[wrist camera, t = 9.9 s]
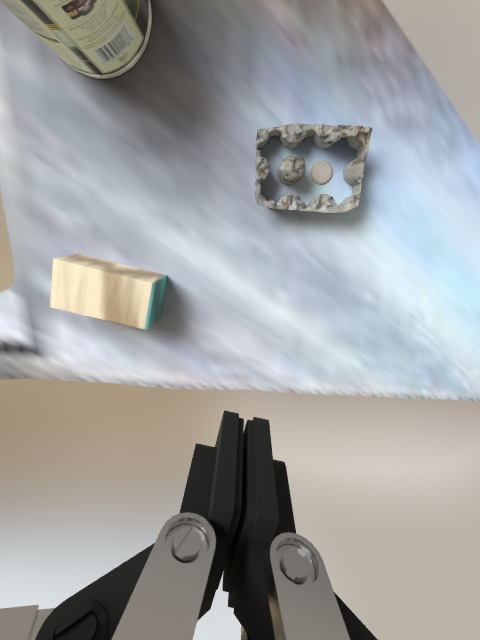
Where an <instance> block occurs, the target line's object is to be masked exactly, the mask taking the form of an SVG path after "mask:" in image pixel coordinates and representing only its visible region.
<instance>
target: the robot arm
mask: <svg viewBox="0 0 480 640" xmlns="http://www.w3.org/2000/svg"><path fill="white" fill-rule="evenodd" d="M243 426H244V420H243V419H242V418H239V414H238V413H233V412H228V411H224V414H223V417H222V421H221V425H220V429H219V433H218V437H217V441H216V445H215V447H211V446H206V445H201V444H197V443H196V446H195V450H194V455H193V459H192V463H191V467H190V471H189V476H188V480H187V484H186V488H185V492H184V497H183V501H182V505H181V509H180V513H179V514H177V515H175V516H173V517H172V518H170V519H169V520H168V521H167V522H166V523H165V525H164V526H163V528H162V529H161V531H160V533H159V535H158V538H157V540H156V542H155V543H154V544H152V545H151V546H149V547H148V548H146V549H145V550H143V551H142V552H140V553H138V554H137V555H136V556H134V557H132V558H131V559H129V560H128V561H126V562H124V563H123V564H121V565H120V566H118V567H116V568H115V569H113V570H112V571H110V572H109V573H107V574H105V575H104V576H102V577H101V578H99V579H98V580H96V581H95V582H93V583H91V584H90V585H88V586H87V587H85V588H84V589H82V590H80V591H79V592H77V593H76V594H74V595H73V596H71V597H69V598H68V599H67V600H65V601H64V602H62V603H61V604H60V605H59V606H58V607H56V608H52V609H42V610H38V605H33V606H23V607H13V608H4V609H0V640H192V639H193V635H194V631H195V627H196V623H197V621H198V620H199V619H200V618H201V617H202V616H203V615H204V614H205V613H206V612H207V611H209V610H210V608H211V605H212V602H213V598H214V595H215V592H216V590H217V589H218V586H219V583H220V580H221V577H222V574H223V591H226V592H229V596H228V607H232V608H234V614H235V616H236V617H237V619H238V620H239V622H240V624H241V625H242V627H241V640H377V639H376V637H374V635H373V634H372V633H371V632H370V631H369V630H368V629H367V628H366V626H365V625H363V623H362V622H361V621H360V620H359V619H358V618H357V617H356V616H355V614H354V613H353V612H352V611H351V610H350V609H349V608H348V607H347V606H346V605H345V603H344V602H343V601H342V600H341V599H340V598H339V597H338V596H337V595H336V594H335V593H334V592H333V589H332V586H331V583H330V580H329V577H328V574H327V571H326V569H325V565H324V563H323V560H322V558H321V556H320V554H319V552H318V551H317V549H316V548H315V547H314V545H313V544H312V543H311V542H309V541H308V540H307V539H306V538H304V537H302V536H300V535H298V534H296V530H295V523H294V517H293V511H292V504H291V497H290V490H289V484H288V477H287V471H286V466H285V463H284V462H282V461H277V460H273V456H272V446H271V437H270V426H269V421H268V420H266V419H261V418H256V417H254V418H253V420H252V421H251V420H247V423H246V427H245V430H244V433H243ZM223 570H224V573H223Z"/></svg>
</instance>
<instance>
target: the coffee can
mask: <svg viewBox="0 0 480 640" xmlns="http://www.w3.org/2000/svg"><path fill="white" fill-rule="evenodd" d="M0 3H2V4H3V5H4V6H5V7H6V8H7V9H8V10H9V11H11V12H12V13H13V14H14V15H15V16H16V17H17V18H18V19H19V20H20V21H22V22H23V23H24V24H25V25H26V26H27V27H28V28H29V29H31V30H32V31H33V32H34V33H35V34H36V35H37V36H38V37H39V38H41V39H42V40H43V41H44V42H45V43H46V44H47V45H48V46H49V47H51V48H52V49H53V50H54V51H55V52H56V53H57V54H58V55H59V56H60V57H61V58H62V59H63V60H64V61H65V62H66V63H67V64H68V65H69V66H71V67H72V68H73V69H75V70H76V71H78V72H80V73H82V74H84V75H86V76H90V77H93V78H100V79H106V78H113V77H117V76H119V75H121V74H123V73H125V72H126V71H128V70H129V69H130V68H132V67H133V66H134V65H135V64H136V63H137V61H138V60H139V59H140V57H141V56H142V54H143V52H144V50H145V48H146V46H147V43H148V40H149V36H150V32H151V24H152V11H151V2H150V0H0Z"/></svg>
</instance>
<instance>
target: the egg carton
mask: <svg viewBox="0 0 480 640" xmlns="http://www.w3.org/2000/svg"><path fill="white" fill-rule="evenodd" d="M371 131H372V128H370V127H363V126H351V125H337V126H329V125H320V124H319V125H310V124H291V125H284V126H280V127H274V128H269V129H259V130H257V139H256V150H257V149H258V148H261V147H263V146H264V145H265V144H266V143H267V141H268V139H269V137H270V136H279V138H280V142H281V143H282V145H283V146H284V147H286V148H294V147H296V146H298V145H299V144H300V142H301V141H302V140H303V138H306V137H311V136H313V141H314V143H315V144H316V146H318V147H319V148H322V149H325V148H328V147H330V146H331V145H333V144H334V143H336V142H338V141H339V140H340V139H341V138H344V137H345V138H347V143H348V144H349V146H350V147H352V148H354V149H356V150H357V154H356V159H355V160H353V161H352V162H350V163H348V164H347V165H346V167H345V168H344V172H343V177H344V180H345V182H346V183H348V184H349V185H352V186H353V189H352V194H351V196H349V197H346V198H345V199H344V200H343V201H342V202H341V204H340V205H336V203H335V201H334V199H333V197H332V196H330V195H327V194H322V195H321V194H320V195H319V196H317V197H314V198H313V199H312V200H311V201H310V203H309V205H305V203H302V202H301V200H300V197H299V196H298V195H294V194H292V193H286V194H284V195H283V196H282V197H281V198H280V199H279V201H278V202H277V204H276V203H275V202H274V201H273V200H269V201H267V200H266V199H265V197H264V196H262V195H261V185H260V183H262V182H263V181H264V180H265V179H266V177H267V176H268V173H269V171H270V164H268V163H267V159H266V158H265V157H262V156H261V151H260V150H257V152H256V182H255V196H256V202H257V204H258V205H260V206H264V207H268V208H275V209H286V210H299V211H311V212H322V213H342V212H347V211H349V210H351V209H353V208H355V207H357V206H358V205H359V200H360V196H361V187H362V181H363V177H364V174H363V171H364V165H365V159H366V156H367V153H368V148H369V141H370V135H371ZM304 171H305V160H304V158H302V157H293V156H289V157H287V158H286V159H284V160H283V161H282V163H281V164H280V166H279V169H278V177H279V179H280V181H281V182H282V183H284V184H287V185H290V184H293V183H295V182H296V181H298V180H299V179H300V178H301V177H302V176H303V174H304ZM332 174H333V169H332V167H331V165H330V164H329V163H328V162H326V161H319V162H317V163H315V164H314V165H313V167H312V169H311V178H312V180H313V181H314V182H315V183H317V184H320V185H322V184H325V183H327V182H328V181H329V180H330V179H331V177H332ZM304 206H305V207H304Z"/></svg>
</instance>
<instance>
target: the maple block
mask: <svg viewBox="0 0 480 640" xmlns="http://www.w3.org/2000/svg"><path fill="white" fill-rule="evenodd" d="M166 281H167V275H163V274H159V273H155V272H151V271H147V270H143V269H139V268H135V267H131V266H127V265H123V264H119V263H115V262H111V261H107V260H103V259H99V258H95V257H91V256H87V255H83V254H76V255H70V256H65V257H60V258H54V259H53V270H52V287H51V303H50V307H52V308H56V309H60V310H65V311H69V312H73V313H77V314H82V315H86V316H90V317H94V318H98V319H103V320H107V321H111V322H115V323H119V324H124V325H128V326H132V327H136V328H141V329H145V330H148V329H149V328H150V327H151V326H152V325H153V324H154V322H155V321H156V320H157V319H158V318H159V317H160V314H161V309H162V303H163V298H164V292H165V287H166Z"/></svg>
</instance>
